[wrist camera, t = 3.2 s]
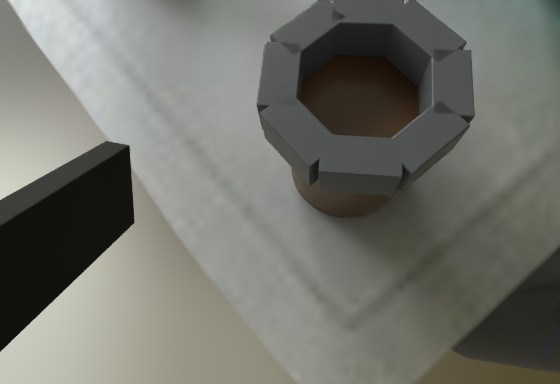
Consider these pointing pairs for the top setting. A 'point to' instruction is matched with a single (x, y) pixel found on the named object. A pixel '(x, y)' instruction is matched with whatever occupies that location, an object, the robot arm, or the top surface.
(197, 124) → the top surface
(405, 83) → the stand
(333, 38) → the gray octagonal ring
